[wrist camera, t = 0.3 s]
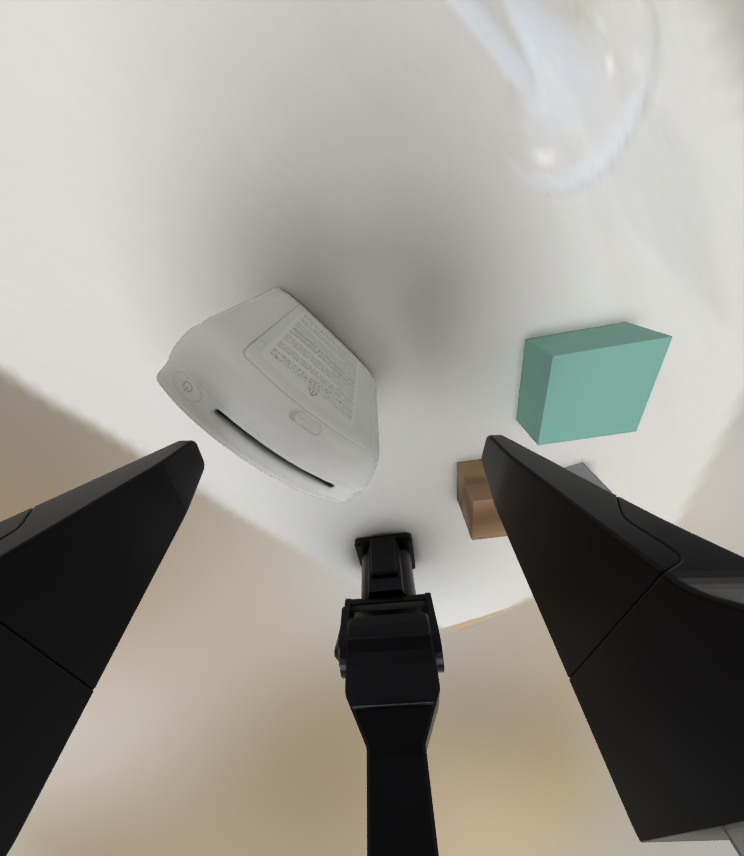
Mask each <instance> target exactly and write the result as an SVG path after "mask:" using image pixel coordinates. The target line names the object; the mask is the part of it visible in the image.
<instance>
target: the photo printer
mask: <svg viewBox="0 0 744 856" xmlns="http://www.w3.org/2000/svg"><path fill="white" fill-rule="evenodd" d="M157 381H158V383H159V384H160V385H161V387H162V388H163V389H164V391H165V392H166V393H167V394H168V395H169V397H170V398H171V399H172V400H173V401H174V402H175V404H176V405H177V406H178V407H179V408H180V409H181V410H182V411H183V412H184V413H185V414H187V415H188V416H189V417H190V418H191V419H192V420H193V421H194V422H195V423H196V424H198V425H199V426H200V427H201V428H202V429H203V430H204V431H206V432H207V433H208V434H209V435H211V436H212V437H213V438H214V439H216V440H217V441H218V442H219V443H221V444H222V445H224V446H225V447H226V448H228V449H229V450H230V451H232V452H233V453H235V454H236V455H237V456H239V457H240V458H242V459H243V460H245V461H246V462H248V463H249V464H251V465H253V466H254V467H256V468H257V469H259V470H261V471H262V472H264V473H266V474H268V475H269V476H271V477H273V478H275V479H277V480H278V481H280V482H282V483H284V484H286V485H288V486H290V487H293V488H295V489H297V490H299V491H302V492H304V493H307V494H309V495H312V496H315V497H318V498H321V499H325V500H328V501H333V502H339V503H344V502H346V501H347V500H348V499H349V498H350V497H351V496H352V495H354V494H355V493H357V492H360V491H362V490H363V489H364V487H365V486H366V485H367V483H368V481H369V480H370V478H371V476H372V475H373V472H374V470H375V468H376V465H377V462H378V458H379V436H378V418H377V393H376V392H377V391H376V382H375V380H374V378H373V377H372V375H371V374H370V372H369V371H368V370H367V368H366V367H365V366H364V365H363V364H362V363H361V362H360V361H359V360H358V359H357V358H356V357H355V356H354V355H353V354H352V353H351V352H350V351H349V350H348V349H347V348H346V347H345V346H344V345H343V344H342V343H341V342H340V341H339V340H338V339H337V338H336V337H335V336H334V335H333V334H332V333H331V332H330V331H329V330H328V329H327V328H325V327H324V326H323V325H322V324H321V323H320V322H319V321H318V320H317V319H316V318H315V317H314V316H313V315H312V314H311V313H310V312H309V311H307V310H306V309H305V308H304V307H303V306H302V305H301V304H300V303H298V302H297V301H296V300H295V299H294V298H292V297H291V296H290V295H288V294H287V293H286V292H284V291H282V290H281V289H279V288H274V289H272V290H270V291H268V292H265V293H263V294H261V295H259V296H256V297H254V298H252V299H250V300H248V301H246V302H243V303H241V304H239V305H236V306H234V307H232V308H230V309H227V310H225V311H223V312H221V313H219V314H216V315H214V316H212V317H210V318H208V319H207V320H205V321H204V322H203V323H201V324H199V325H197V326H195V327H193V328H191V329H190V330H189V331H187V332H186V333H185V334H184V335H183V336H182V338H181V339H180V340H179V341H178V342H177V343H176V345H175V346H174V347H173V349H172V351H171V354H170V357H169V360H168V361H167V363H166V365H165V366H164V367H163V368H162V369H161V370H160V372H159V373H158V374H157Z"/></svg>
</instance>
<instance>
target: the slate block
mask: <svg viewBox="0 0 744 856" xmlns="http://www.w3.org/2000/svg"><path fill="white" fill-rule="evenodd" d="M565 469H567V470H569V471H571V472H573V473H575V474H577V475H578V476H580V477H582V478H584V479H586V480H588V481H590V482H592V483H594V484H596V485H597V486H599V487H601V488H603V489H605V490H607V491H609V492H611V491H610V490H609V489H608V488H607V487H606V486H605V485H604V484H603V483H602V482H601V481H600V480H599V479H598V477H597V476H596V475H595V474H594V473H593V472H592V471H591V470H590V469H589V468H588V467H587V466H586V465H585V464H584V463H583V462H582V463H579V464H575V465H572V466H569V467H566V468H565ZM611 493H612V492H611Z"/></svg>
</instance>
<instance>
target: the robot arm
mask: <svg viewBox="0 0 744 856" xmlns="http://www.w3.org/2000/svg"><path fill="white" fill-rule="evenodd" d="M482 465H483V468H484V472H485V475H486V479H487V482H488V485H489V489H490V492H491V495H492V499H493V502H494V505H495V508H496V510H497V513H498V515H499V517H500V520H501V522H502V524H503V526H504V529H505V531H506V533H507V536H508V538H509V540H510V543H511V545H512V547H513V550H514V552H515V554H516V557H517V559H518V561H519V564H520V566H521V568H522V570H523V573H524V575H525V577H526V580H527V582H528V584H529V587H530V589H531V591H532V594H533V596H534V598H535V601H536V603H537V605H538V608H539V610H540V612H541V615H542V617H543V619H544V621H545V624H546V626H547V628H548V631H549V633H550V635H551V637H552V640H553V642H554V645H555V647H556V649H557V651H558V654H559V656H560V659H561V661H562V663H563V665H564V668H565V670H566V672H567V675H568V677H570V682H571V684H572V687H573V689H574V692H575V694H576V696H577V698H578V701H579V703H580V705H581V708H582V710H583V712H584V715H585V717H586V719H587V722H588V724H589V726H590V729H591V731H592V733H593V736H594V738H595V740H596V743H597V745H598V747H599V749H600V752H601V754H602V756H603V759H604V761H605V763H606V766H607V768H608V770H609V772H610V775H611V777H612V780H613V782H614V784H615V787H616V789H617V791H618V793H619V796H620V798H621V800H622V803H623V805H624V807H625V810H626V812H627V814H628V817H629V819H630V821H631V823H632V826H633V828H634V830H635V832H636V834H637V836H638V838H639V840H640V841H641V842H672V841H705V840H707V841H708V840H730V841H731V843H732V844H733V846H734V848H735V850H736V851H737V853H738V854H739V856H744V557H742V556H739V555H737V554H735V553H733V552H731V551H729V550H727V549H724V548H722V547H720V546H718V545H716V544H714V543H712V542H710V541H707V540H705V539H703V538H701V537H699V536H697V535H695V534H692V533H690V532H688V531H686V530H684V529H682V528H680V527H678V526H676V525H674V524H672V523H669V522H667V521H665V520H663V519H661V518H659V517H657V516H655V515H653V514H651V513H649V512H647V511H645V510H643V509H641V508H640V507H638V506H636V505H634V504H632V503H630V502H628V501H626V500H624V499H622V498H620V497H616V495H615V494H613V493H611V492H609V491H607V490H605V489H603V488H601V487H599V486H597V485H596V484H594V483H592V482H590V481H588V480H586V479H584V478H582V477H580V476H578V475H577V474H575V473H573V472H571V471H569V470H567V469H565V468H563V467H561V466H559V465H558V464H556V463H554V462H552V461H550V460H548V459H546V458H544V457H542V456H540V455H539V454H537V453H535V452H533V451H531V450H529V449H527V448H525V447H523V446H521V445H520V444H518V443H516V442H514V441H512V440H510V439H508V438H506V437H504V436H502V435H490V436H488V437H487V439H486V442H485V446H484V450H483V455H482ZM203 470H204V461H203V458H202V456H201V453H200V451H199V448H198V446H197V444H196V443H195V442H194V441H178V442H176V443H174V444H171V445H169V446H167V447H165V448H163V449H160V450H158V451H156V452H154V453H152V454H149V455H147V456H145V457H143V458H141V459H138V460H136V461H134V462H132V463H129V464H127V465H125V466H123V467H121V468H118V469H116V470H114V471H112V472H110V473H107V474H105V475H103V476H101V477H99V478H96V479H94V480H92V481H90V482H88V483H85V484H83V485H81V486H79V487H77V488H75V489H72V490H70V491H68V492H66V493H64V494H61V495H59V496H57V497H55V498H52V499H50V500H48V501H46V502H44V503H42V504H39V505H37V506H35V507H34V509H33V508H31V509H28V510H26V511H24V512H21V513H19V514H17V515H15V516H13V517H11V518H8V519H6V520H4V521H2V522H0V856H6V855H7V853H8V852H9V850H10V849H11V847H12V845H13V843H14V842H15V840H16V838H17V836H18V834H19V832H20V830H21V829H22V827H23V825H24V823H25V821H26V819H27V817H28V815H29V813H30V811H31V810H32V808H33V806H34V804H35V802H36V800H37V798H38V796H39V794H40V792H41V790H42V789H43V787H44V785H45V783H46V781H47V779H48V777H49V775H50V773H51V771H52V769H53V768H54V766H55V764H56V762H57V760H58V758H59V756H60V754H61V752H62V750H63V748H64V746H65V745H66V743H67V741H68V739H69V737H70V735H71V733H72V731H73V729H74V727H75V725H76V724H77V722H78V719H79V718H80V716H81V714H82V712H83V710H84V708H85V706H86V704H87V703H88V701H89V699H90V697H91V695H92V693H93V690H92V689H94V688H95V687H96V685H97V683H98V681H99V679H100V677H101V675H102V673H103V671H104V670H105V668H106V666H107V664H108V662H109V660H110V658H111V656H112V654H113V652H114V651H115V649H116V647H117V645H118V643H119V641H120V639H121V637H122V635H123V633H124V631H125V630H126V628H127V626H128V624H129V622H130V620H131V618H132V616H133V614H134V612H135V610H136V609H137V607H138V605H139V603H140V601H141V599H142V597H143V595H144V593H145V591H146V589H147V588H148V586H149V584H150V582H151V580H152V578H153V576H154V574H155V572H156V570H157V568H158V566H159V565H160V563H161V561H162V559H163V557H164V555H165V553H166V551H167V549H168V548H169V546H170V544H171V542H172V540H173V538H174V536H175V534H176V532H177V530H178V528H179V526H180V525H181V523H182V521H183V519H184V517H185V515H186V513H187V510H188V508H189V506H190V503H191V501H192V498H193V496H194V493H195V491H196V488H197V486H198V483H199V480H200V478H201V475H202V473H203ZM355 548H356V551H357V554H358V557H359V561H360V564H361V567H362V599H346V600H345V607H343V609H342V616H341V627H340V631H339V635H338V639H337V643H336V646H335V657H336V659H337V660H338V661H339V666H340V671H341V676H342V678H343V679H344V678H346V683H345V685H346V686H345V693H346V698H347V700H348V703H349V705H350V708H351V710H352V712H353V715H354V718H355V720H356V722H357V725H358V727H359V730H360V732H361V735H362V737H363V739H364V742H365V745H366V748H367V856H439V855H438V847H437V838H436V829H435V821H434V813H433V804H432V796H431V787H430V779H429V770H428V761H427V753H426V751H427V748H428V744H429V740H430V736H431V733H432V729H433V726H434V722H435V718H436V714H437V711H438V705H439V693H440V684H439V678H438V672H444V660H443V653H442V645H441V639H440V634H439V629H438V625H437V620H436V616H435V612H434V607H433V603H432V598H431V594H430V593H425V594H418V595H416V591H415V584H414V577H413V570H412V569H414V568H415V560H414V553H413V545H412V538H411V535H410V534H408V533H405V534H397V535H388V536H379V537H371V538H362V539H357V540H355Z"/></svg>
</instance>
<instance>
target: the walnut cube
mask: <svg viewBox="0 0 744 856" xmlns="http://www.w3.org/2000/svg"><path fill="white" fill-rule="evenodd" d="M457 500H458V503H459V505H460V508H461V511H462V514H463V517H464V519H465V522H466V525H467V528H468V530H469V533H470V536H471V539H472V540H476V539H484V538H493V537H502V536H507V533H506V531H505V529H504V526H503V524H502V522H501V520H500V517H499V515H498V513H497V510H496V508H495V505H494V502H493V499H492V495H491V492H490V489H489V485H488V482H487V479H486V475H485V472H484V468H483V465H482V459H479V460H471V461H464V462H457Z"/></svg>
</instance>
